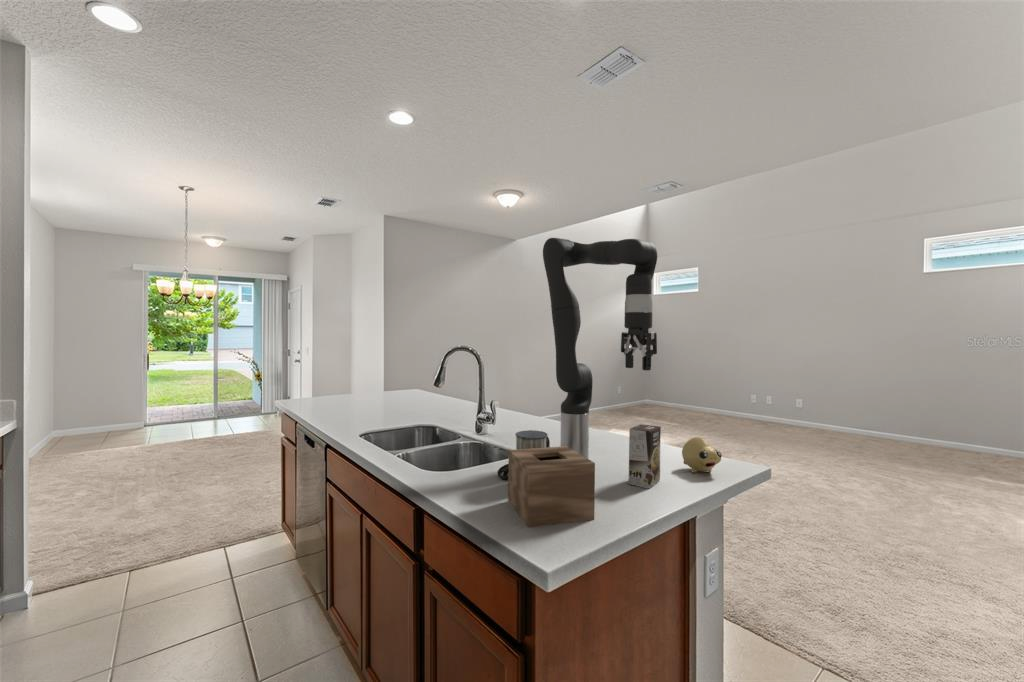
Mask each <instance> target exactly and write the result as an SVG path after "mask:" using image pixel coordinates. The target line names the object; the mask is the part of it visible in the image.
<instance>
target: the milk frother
mask: <svg viewBox="0 0 1024 682" xmlns="http://www.w3.org/2000/svg"><path fill="white" fill-rule="evenodd" d="M515 436H516V437H515V438H516V440H515V442H516V443H515V450H518V449H533V448H547V447H550V445H551V443H550V438H549V437H548V436H549V435H548V433H547V432H545V431H542V430H522V431H520V430H519V431H517V432H515ZM497 477H499V478H500V479H503V480H506V481H508V463H507V464H504V465H502V466H501V467H500V468H499V469H498V470H497Z"/></svg>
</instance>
